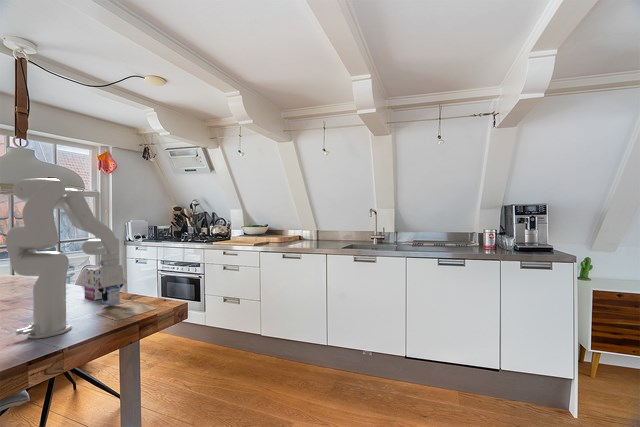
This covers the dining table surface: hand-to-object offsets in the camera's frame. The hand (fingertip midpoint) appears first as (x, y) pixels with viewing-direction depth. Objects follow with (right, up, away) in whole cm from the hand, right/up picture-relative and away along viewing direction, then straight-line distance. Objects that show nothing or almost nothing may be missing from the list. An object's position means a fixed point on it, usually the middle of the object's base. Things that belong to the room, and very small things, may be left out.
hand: (110, 299), depth 147 cm
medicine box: (0, -3, 0) cm, 3 cm away
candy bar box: (-19, -4, +15) cm, 25 cm away
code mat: (+13, -4, -7) cm, 15 cm away
